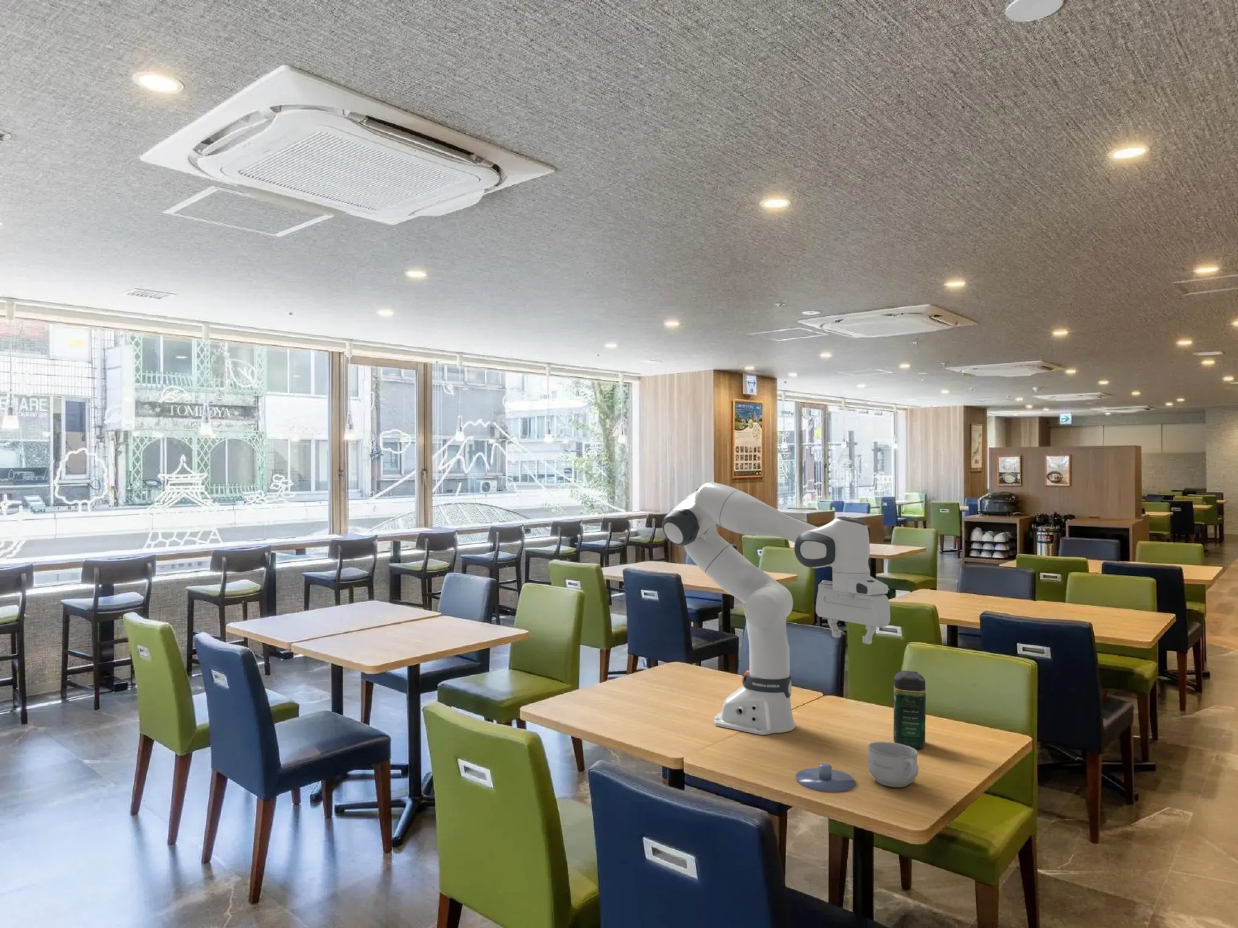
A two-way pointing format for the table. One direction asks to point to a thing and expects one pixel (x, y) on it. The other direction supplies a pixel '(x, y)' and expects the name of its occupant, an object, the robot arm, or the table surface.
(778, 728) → the robot arm
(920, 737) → the coffee jar
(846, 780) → the lid
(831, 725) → the table surface
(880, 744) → the teacup
